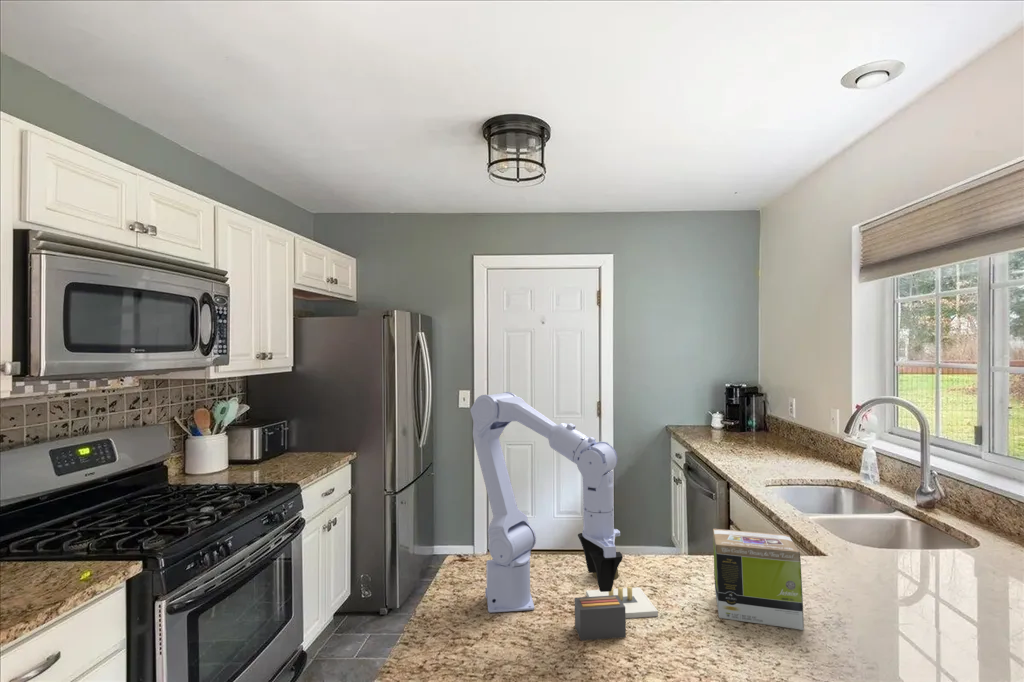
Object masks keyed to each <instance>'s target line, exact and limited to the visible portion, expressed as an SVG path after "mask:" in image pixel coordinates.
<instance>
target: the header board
mask: <svg viewBox="0 0 1024 682" xmlns="http://www.w3.org/2000/svg"><path fill="white" fill-rule="evenodd" d="M585 592H586V593H585V595H586V596H585V597H595V596H611V595H618V597H619V598H620V600H621V601H622V603H623V604H624V606H625V618H626V619H634V618H637V619H639V618H651V617H653V618H654V617H658V616H659V611H658V609H657V608H656V606H655V605H654V604H653V603H652V601H651V600H650V599H649V597H648V596H647V595H646V593H645V592H644V591H643V589H642V588H641V587H640V586H638V587H637V586H636V587H632V586H627V587H622V586H618V587H617V588H614V587H612V590H611V591H608V592H600V590H599V589H591V590H590V589H588V590H585Z"/></svg>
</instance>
